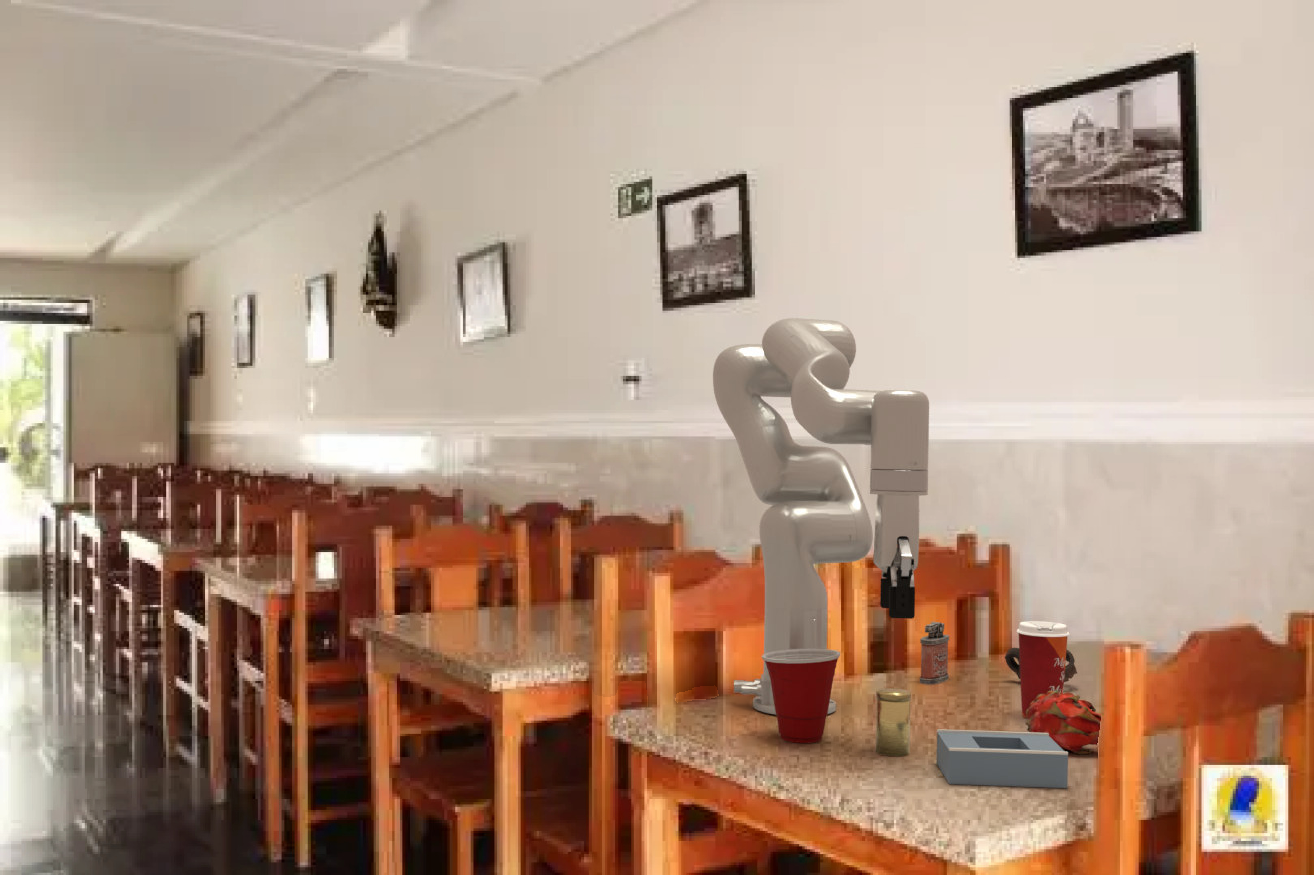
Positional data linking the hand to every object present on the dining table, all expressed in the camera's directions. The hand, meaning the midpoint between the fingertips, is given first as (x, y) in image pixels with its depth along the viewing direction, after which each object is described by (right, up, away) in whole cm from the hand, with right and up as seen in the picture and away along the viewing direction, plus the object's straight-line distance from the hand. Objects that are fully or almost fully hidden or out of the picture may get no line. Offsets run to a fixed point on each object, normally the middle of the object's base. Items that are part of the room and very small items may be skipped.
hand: (896, 612), depth 169 cm
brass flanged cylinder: (-1, -18, 0) cm, 18 cm away
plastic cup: (-12, -18, +7) cm, 23 cm away
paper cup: (+26, -19, +23) cm, 40 cm away
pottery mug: (+33, -19, +48) cm, 62 cm away
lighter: (+16, -19, +51) cm, 57 cm away
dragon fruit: (+24, -19, +3) cm, 31 cm away
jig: (+11, -19, -11) cm, 24 cm away
